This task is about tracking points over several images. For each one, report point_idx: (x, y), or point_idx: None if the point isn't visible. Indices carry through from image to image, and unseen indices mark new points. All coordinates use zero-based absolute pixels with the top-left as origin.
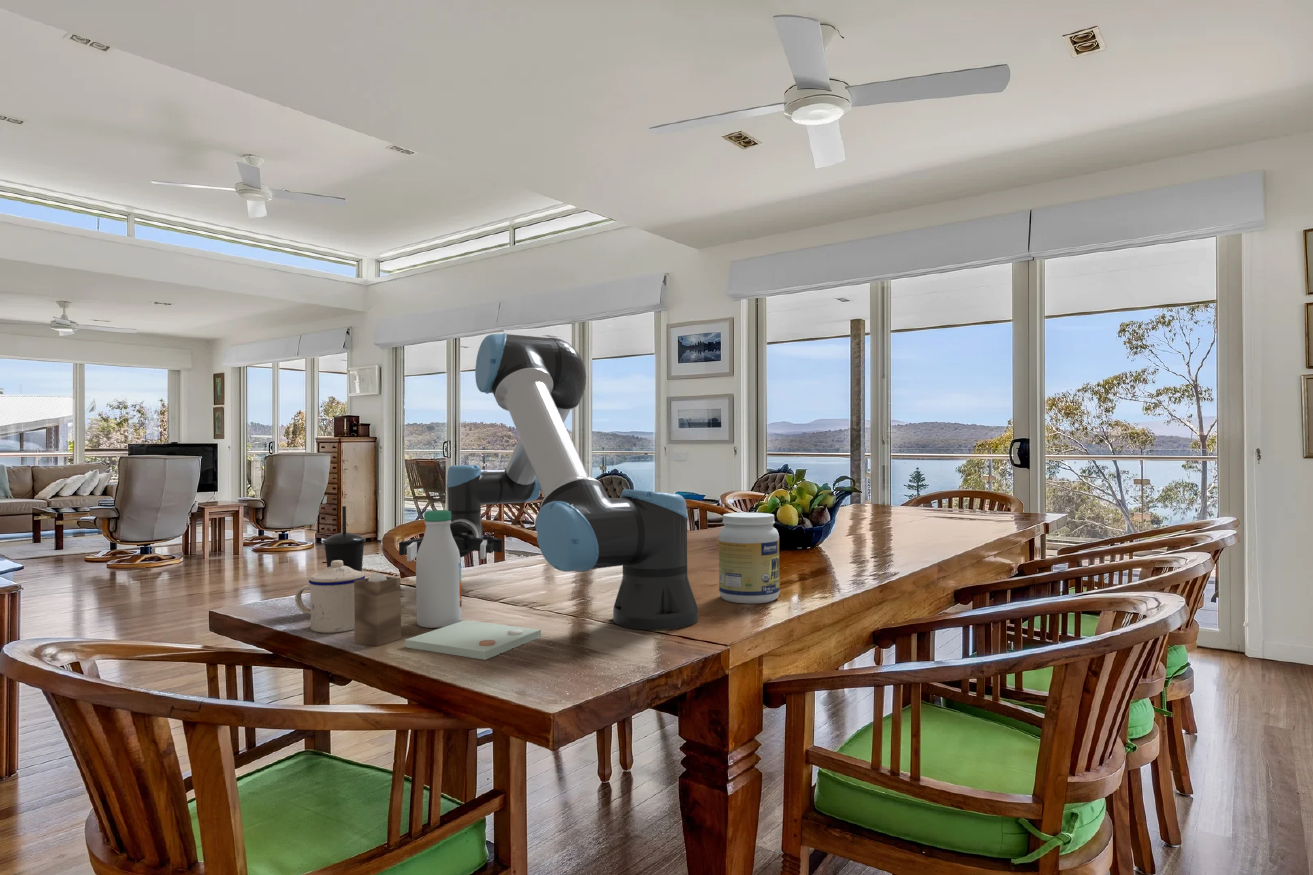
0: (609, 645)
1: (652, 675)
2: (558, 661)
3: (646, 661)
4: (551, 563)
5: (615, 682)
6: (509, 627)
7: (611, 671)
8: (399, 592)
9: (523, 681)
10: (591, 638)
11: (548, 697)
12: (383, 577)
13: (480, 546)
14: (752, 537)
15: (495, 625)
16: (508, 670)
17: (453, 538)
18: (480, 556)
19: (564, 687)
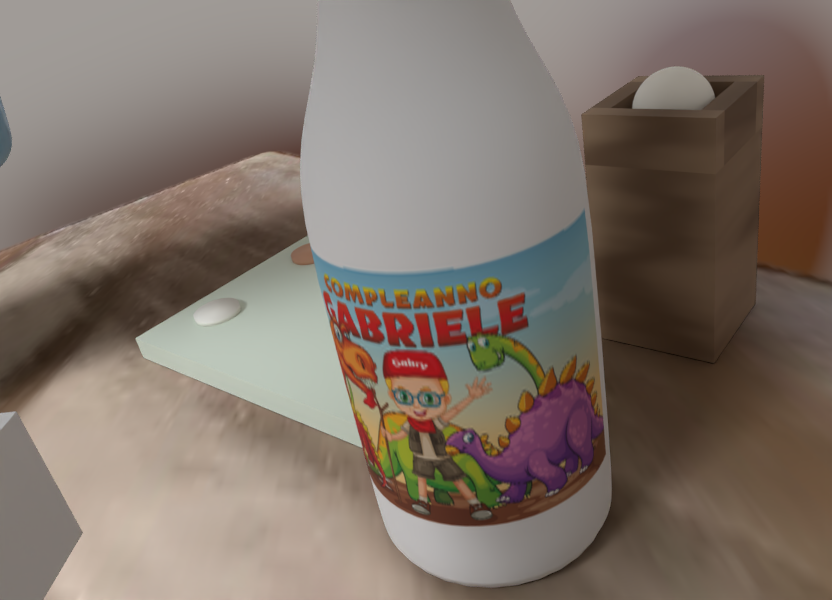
0: (25, 316)
1: (74, 223)
2: (184, 248)
3: (34, 259)
4: (11, 139)
5: (144, 204)
6: (217, 352)
7: (122, 227)
8: (588, 171)
9: (277, 194)
10: (23, 353)
11: (258, 170)
12: (640, 86)
13: (21, 428)
14: None
15: (256, 368)
16: (291, 216)
17: (313, 69)
18: (70, 514)
19: (224, 188)
